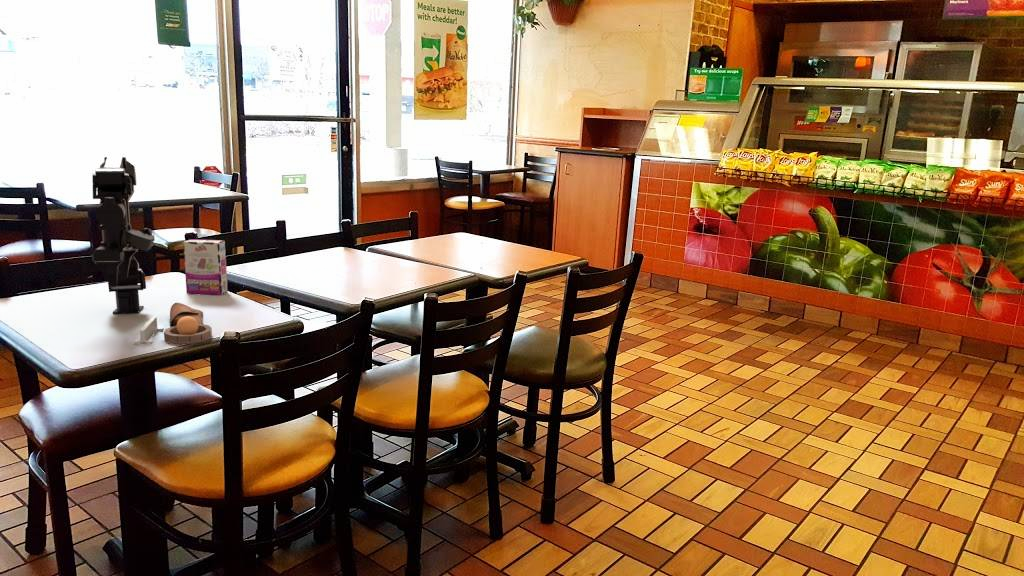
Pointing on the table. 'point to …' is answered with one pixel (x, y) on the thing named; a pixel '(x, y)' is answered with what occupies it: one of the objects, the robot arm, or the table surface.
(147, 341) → the divider
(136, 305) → the robot arm
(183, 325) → the ball
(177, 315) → the sunglasses case
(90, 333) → the table surface
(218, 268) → the candy bar box
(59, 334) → the table surface
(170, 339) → the saucer
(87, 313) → the table surface
